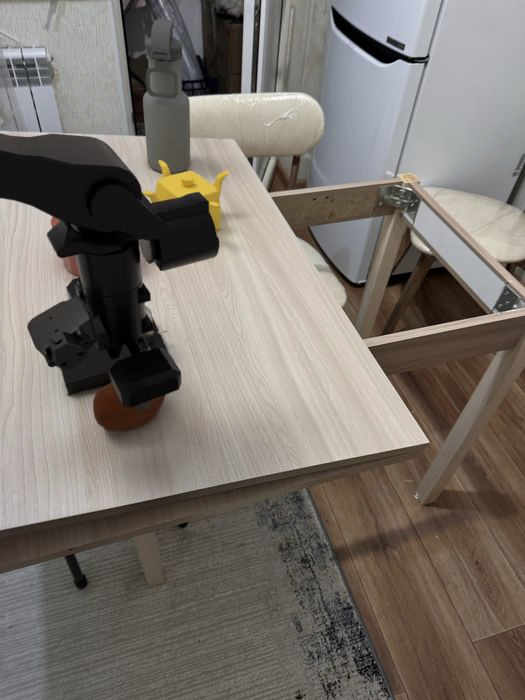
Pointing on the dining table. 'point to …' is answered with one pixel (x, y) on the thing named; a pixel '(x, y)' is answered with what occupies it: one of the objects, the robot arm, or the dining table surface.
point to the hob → (100, 367)
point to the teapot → (189, 189)
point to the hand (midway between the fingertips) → (128, 382)
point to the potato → (121, 411)
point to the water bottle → (166, 101)
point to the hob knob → (150, 335)
